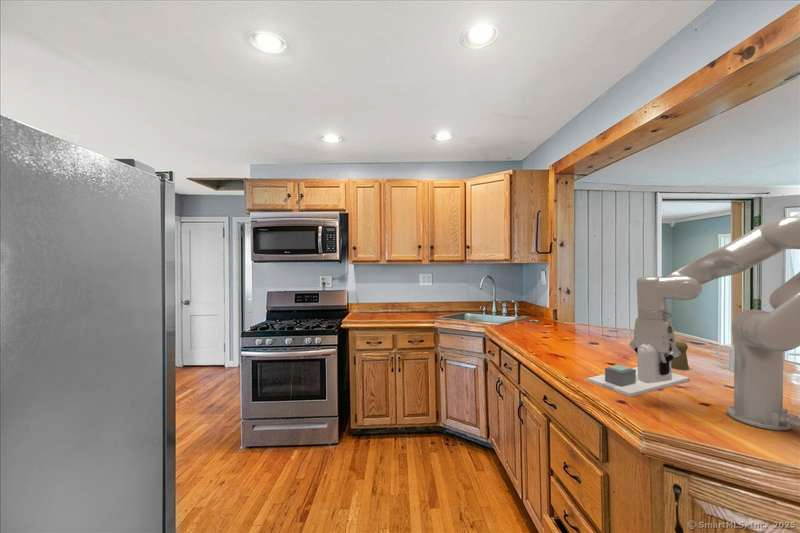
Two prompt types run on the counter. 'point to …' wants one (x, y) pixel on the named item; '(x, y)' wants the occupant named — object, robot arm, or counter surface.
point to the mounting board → (640, 384)
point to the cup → (731, 356)
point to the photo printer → (650, 365)
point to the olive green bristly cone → (680, 357)
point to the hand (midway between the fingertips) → (654, 371)
